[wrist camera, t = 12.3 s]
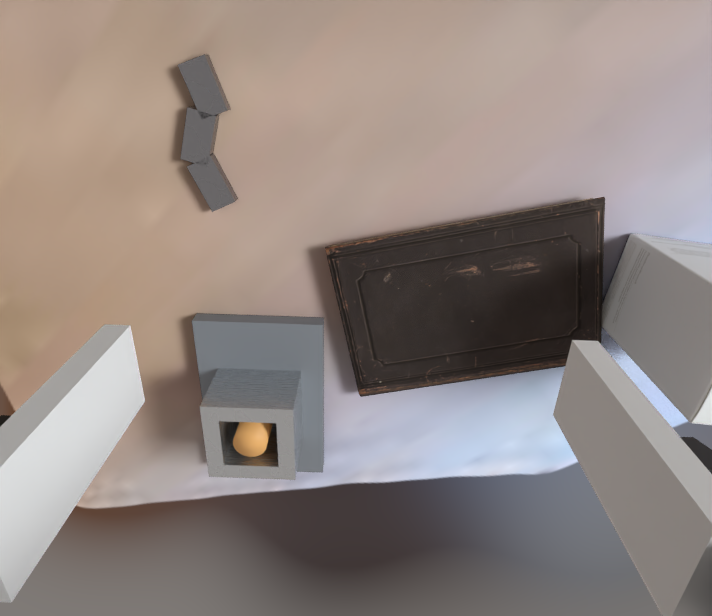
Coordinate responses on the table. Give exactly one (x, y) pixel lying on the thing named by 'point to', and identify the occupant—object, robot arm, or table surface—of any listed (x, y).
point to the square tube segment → (253, 404)
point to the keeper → (268, 352)
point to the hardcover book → (471, 296)
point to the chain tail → (205, 131)
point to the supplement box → (666, 318)
